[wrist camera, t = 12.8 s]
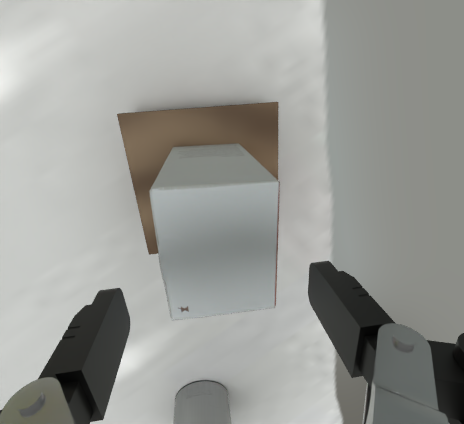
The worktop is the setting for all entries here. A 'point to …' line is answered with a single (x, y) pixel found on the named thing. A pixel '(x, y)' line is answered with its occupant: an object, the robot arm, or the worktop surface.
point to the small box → (216, 231)
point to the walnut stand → (193, 142)
